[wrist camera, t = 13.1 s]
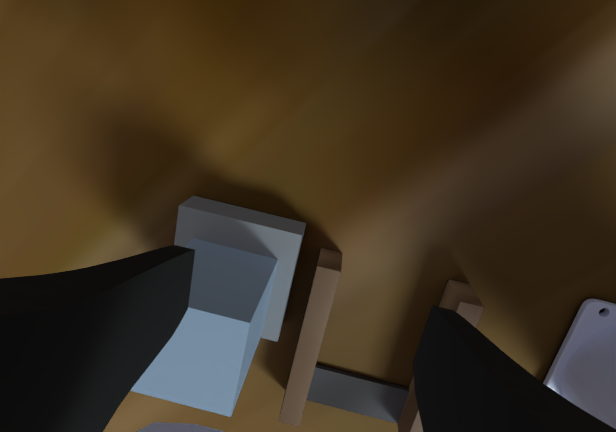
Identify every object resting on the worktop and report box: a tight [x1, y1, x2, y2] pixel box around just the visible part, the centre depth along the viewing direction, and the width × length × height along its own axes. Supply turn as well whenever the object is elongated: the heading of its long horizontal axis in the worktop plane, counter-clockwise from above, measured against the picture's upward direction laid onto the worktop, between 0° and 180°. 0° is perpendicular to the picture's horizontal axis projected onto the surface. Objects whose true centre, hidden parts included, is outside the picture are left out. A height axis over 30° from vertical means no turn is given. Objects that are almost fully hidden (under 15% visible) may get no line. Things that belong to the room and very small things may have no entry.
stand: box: [174, 196, 306, 342], centre depth 22 cm, size 6×6×2 cm
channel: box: [279, 248, 484, 432], centre depth 23 cm, size 8×10×2 cm
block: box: [130, 238, 278, 417], centre depth 19 cm, size 4×4×6 cm
